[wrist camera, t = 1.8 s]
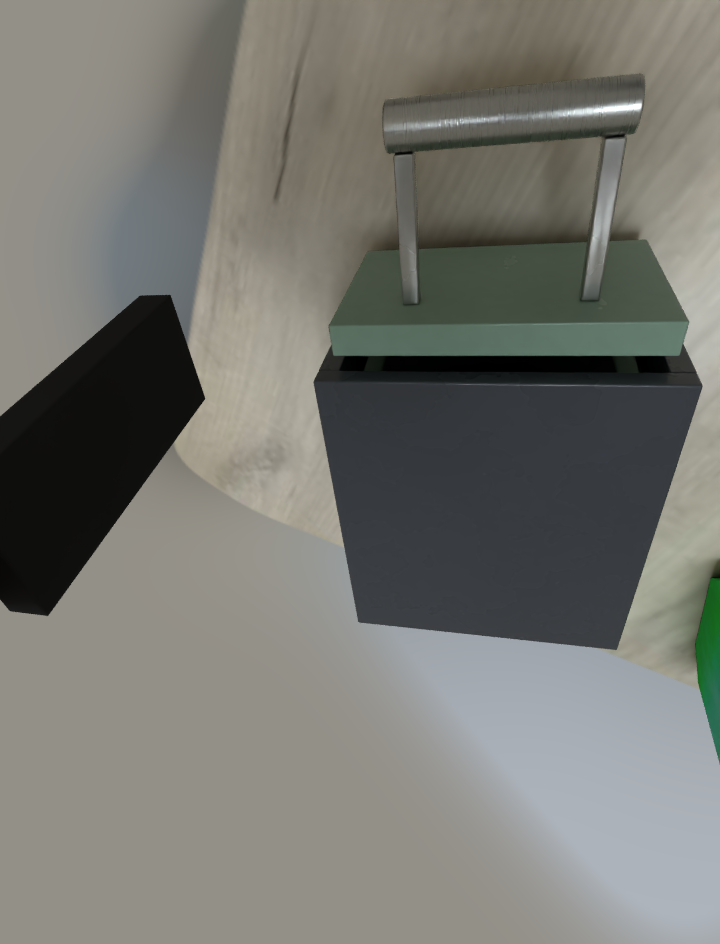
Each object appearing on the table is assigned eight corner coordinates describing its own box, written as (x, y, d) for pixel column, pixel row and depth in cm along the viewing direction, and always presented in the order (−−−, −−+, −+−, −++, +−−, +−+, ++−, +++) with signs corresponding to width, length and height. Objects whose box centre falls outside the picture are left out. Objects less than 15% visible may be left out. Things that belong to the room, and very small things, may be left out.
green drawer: (350, 82, 21) (295, 118, 16) (688, 45, 18) (760, 72, 13) (390, 480, 34) (366, 575, 28) (593, 490, 31) (611, 597, 26)
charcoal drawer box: (362, 280, 27) (312, 381, 20) (649, 272, 24) (703, 385, 17) (386, 503, 36) (358, 622, 29) (595, 515, 33) (617, 650, 27)
